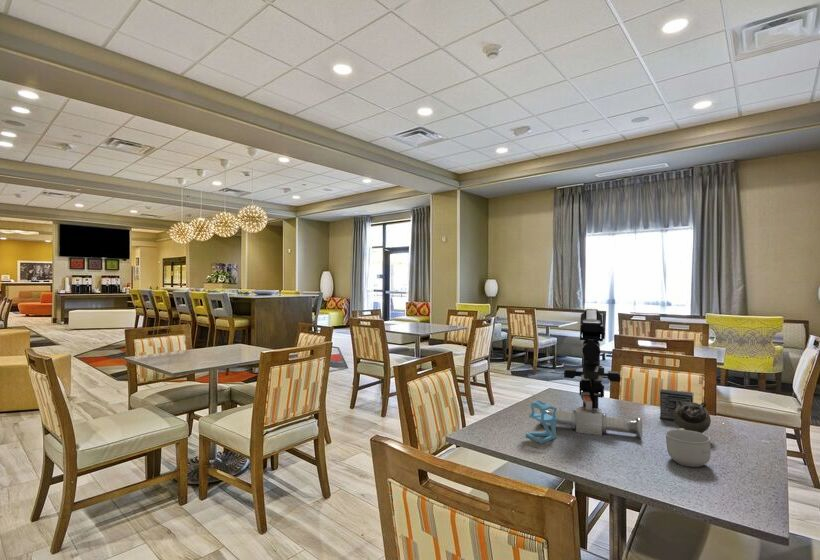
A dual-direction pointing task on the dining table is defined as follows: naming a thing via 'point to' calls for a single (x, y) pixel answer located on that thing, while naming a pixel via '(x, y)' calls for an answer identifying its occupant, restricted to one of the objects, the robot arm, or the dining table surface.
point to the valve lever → (587, 400)
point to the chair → (543, 421)
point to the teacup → (688, 447)
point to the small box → (672, 402)
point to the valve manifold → (596, 422)
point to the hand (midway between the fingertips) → (592, 398)
